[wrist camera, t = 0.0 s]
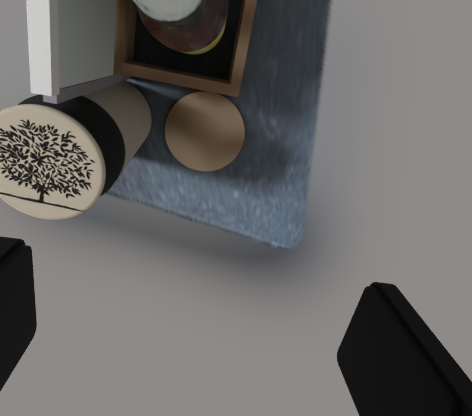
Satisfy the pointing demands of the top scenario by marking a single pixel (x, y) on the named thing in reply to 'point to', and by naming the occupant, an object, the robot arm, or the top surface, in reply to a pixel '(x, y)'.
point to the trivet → (204, 131)
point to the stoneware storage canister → (69, 149)
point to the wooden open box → (162, 74)
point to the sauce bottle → (185, 23)
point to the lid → (71, 47)
